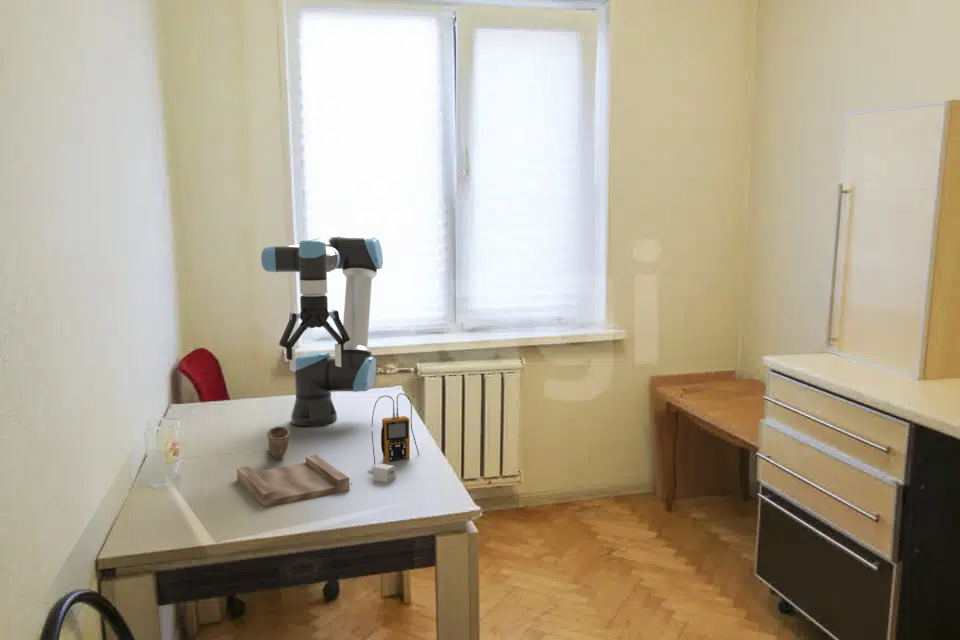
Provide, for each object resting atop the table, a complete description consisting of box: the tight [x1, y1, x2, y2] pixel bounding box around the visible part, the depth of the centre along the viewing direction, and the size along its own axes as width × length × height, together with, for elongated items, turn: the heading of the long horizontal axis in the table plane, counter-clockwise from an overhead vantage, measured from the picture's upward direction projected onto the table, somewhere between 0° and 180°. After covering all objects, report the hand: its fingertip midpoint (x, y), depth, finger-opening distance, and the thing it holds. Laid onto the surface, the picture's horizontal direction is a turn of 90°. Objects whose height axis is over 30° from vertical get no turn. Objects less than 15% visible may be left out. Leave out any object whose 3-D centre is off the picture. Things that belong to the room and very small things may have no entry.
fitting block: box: [236, 454, 351, 508], centre depth 200 cm, size 22×24×3 cm
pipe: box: [266, 425, 291, 462], centre depth 224 cm, size 6×17×10 cm, turn 20°
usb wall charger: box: [367, 463, 397, 484], centre depth 204 cm, size 4×7×4 cm, turn 62°
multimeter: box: [371, 393, 420, 465], centre depth 214 cm, size 15×10×20 cm
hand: (316, 368), depth 219 cm, fingers open, 13 cm apart
